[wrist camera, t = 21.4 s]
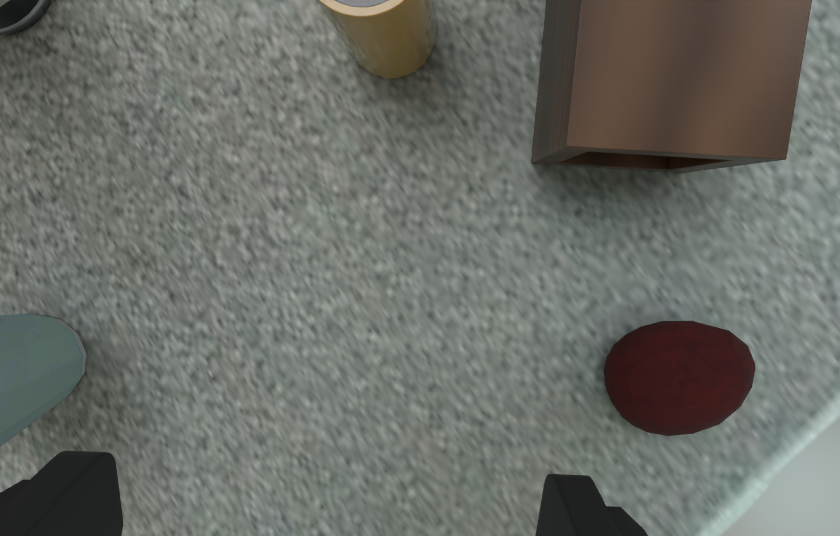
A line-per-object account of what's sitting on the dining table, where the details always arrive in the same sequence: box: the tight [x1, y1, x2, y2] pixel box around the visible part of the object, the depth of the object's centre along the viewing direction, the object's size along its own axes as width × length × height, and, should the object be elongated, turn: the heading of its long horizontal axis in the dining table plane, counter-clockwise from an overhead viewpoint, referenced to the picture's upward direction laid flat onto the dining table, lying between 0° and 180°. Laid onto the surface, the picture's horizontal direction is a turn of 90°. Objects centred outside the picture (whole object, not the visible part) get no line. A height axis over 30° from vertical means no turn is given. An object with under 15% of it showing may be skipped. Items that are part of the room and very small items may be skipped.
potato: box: [604, 321, 755, 436], centre depth 31 cm, size 8×9×6 cm
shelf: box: [531, 0, 812, 173], centre depth 27 cm, size 10×14×10 cm
